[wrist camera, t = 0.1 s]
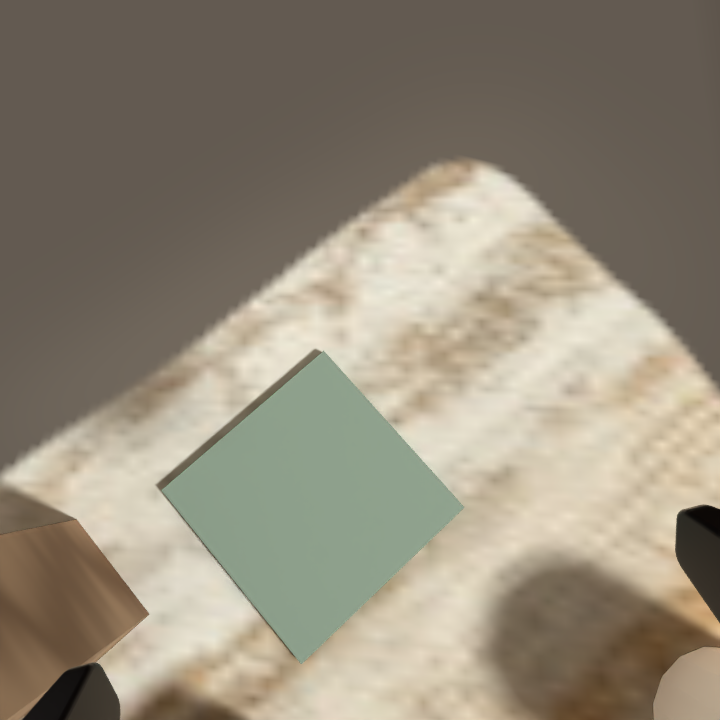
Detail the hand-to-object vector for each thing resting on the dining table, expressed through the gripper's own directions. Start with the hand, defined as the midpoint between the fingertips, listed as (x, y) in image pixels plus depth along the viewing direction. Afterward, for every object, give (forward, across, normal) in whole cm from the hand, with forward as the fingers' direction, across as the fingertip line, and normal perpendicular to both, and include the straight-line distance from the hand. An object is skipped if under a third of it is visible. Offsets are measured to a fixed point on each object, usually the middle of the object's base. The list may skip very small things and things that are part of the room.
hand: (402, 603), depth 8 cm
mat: (+13, +2, +7) cm, 15 cm away
